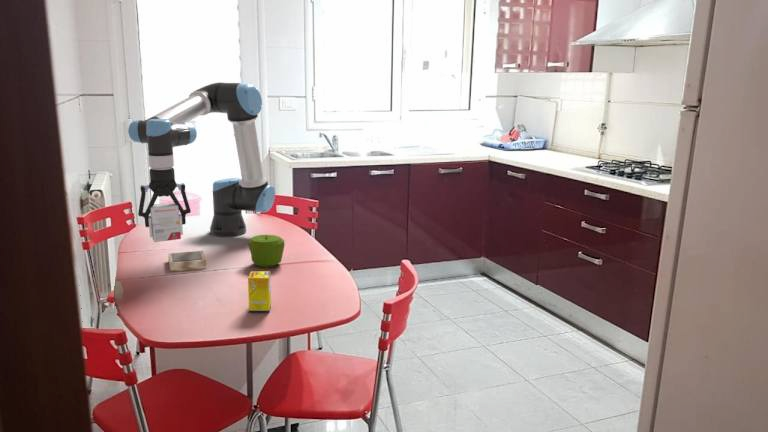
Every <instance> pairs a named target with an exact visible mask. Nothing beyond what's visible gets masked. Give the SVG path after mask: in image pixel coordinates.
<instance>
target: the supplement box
mask: <svg viewBox="0 0 768 432" xmlns="http://www.w3.org/2000/svg"><path fill="white" fill-rule="evenodd" d="M271 277H272V275H271V271H267V270H266V271H259V270H258V271H257V270H255V271H253V270H252V271H250V272H249V275H248V277H247V279H248V280H247V284H248V285H247V286H248V287H247V289H248V313H249V314H269V313H270V311H271V308H272V291H271V290H272V289H271V288H272V284H271V282H272V281H271V279H272V278H271Z"/></svg>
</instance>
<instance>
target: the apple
mask: <svg viewBox="0 0 768 432" xmlns="http://www.w3.org/2000/svg"><path fill="white" fill-rule="evenodd" d="M247 243H248V244H247V245H248V249H249V251H250V255H251V261H252V263H253V264H254V265H256V266H258V267H260V268H273V267H275V266H277V265H278V264H280V263H281V262H282V258H283V254H284V249H285V246H286V245H285V240H284V238H282V237H281V236H278V235H276V234H275V235H273V234H258V235H255V236H252V237H251V238H250V239H249V240H248V242H247Z"/></svg>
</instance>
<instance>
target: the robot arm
mask: <svg viewBox="0 0 768 432" xmlns="http://www.w3.org/2000/svg"><path fill="white" fill-rule="evenodd" d="M262 106H263V99H262V95H261V93H260V91H259V89H258V87H256V86H255V85H253V84H252V83H251V84H250V83H244V82H214V83H210V84H208V85H205V86H202V87H200V88H198V89H196V90H194V91H193V92H192V91H191V93H190V94H189V95H188V97H187V98H185V99H183V100H181V101H180V102H177V103H175V104H174V105H172V106H169V107H168V108H166V109H165V110H163V111H161V112H159V113H156V114H155V115H152V116H151V117H149V118H147V119H145V120H142V119H138V120H133V121H131V122H130V123H129V125H128V128H127V129H128V130H127V131H128V133H127V134H128V136H129V139H130V140H131V141H133V142H134V143H139V144H140V143H141V144H147V151H148V152H147V156H148V157H147V158H148V166H149V168H150V169H149V183H148V184H147V185H144V184H143V185H140V186H139V187H140V192H141V193H140V194H141V195H140V201H139V206H138V212H137V213H138V214H137V215H138V216H139V217H142V218H144V224H145V228H149V231H148V232H149V238H153V237H152V225H151V213H150V212H151V209H150V207H153V205H154V204H156V201H157V199H158V197H159V198H162V197H170V198H171V200H172V202H173V203H175V205H177V206H178V209H179V221H180V233H181V236H183V235H184V231H183V230H184V229H183V225H186V223H187V222H186V220H187V219H186V215H187V214H191V210H192V209H191V208H190V204H189V201H188V196H187V194H186V185H185V183H184V182H183V183H177V182H176V176H175V168H174V166H175V163H174V148H175V147H176V148H177V147H180V146H181V147H182V146H188V145H190V144H192V143H194V142H195V141H196V139H197V134H198V133H197V128H196V127H195V126H194V124H193V123H191V122H190V121H192V120H194V119H195V118H197V117H198V116H206V115H209V114H210V113H211V114H212V113H217V114H218V113H220V114H221V113H222V114H226V116H227V120H228V121H229V122H230V123H231V124H232V128H233V132H234V133H233V134H234V139H235V144H236V151H237V157H238V162H239V164H238V165H239V169H240V174H241V177H240V178H239V177H233V178H229V177H228V178H223V179H218V180H215V181H214V182H213V183H212V191H211V192H212V204H213V207H212V208H213V217H212V220H211V223H210V227H209V230H210V232H209V233H210V234H211V235H213V236H217V237H234V236H240V235H244V234H246V232H247V224H246V222H245V219H244V216H243V213H242V212H243V211H244V212H245V211H246V212H255V213H267V212H269V211H270V210H271V208H272V207H273V205H274V203H275V197H276V191H275V190H276V189H275V187H274V186H273V185H272V184H269V183H268V182H269V181H268V178H267V177H266V176H264V173H263V166H262V160H261V155H260V154H261V153H260V147H259V141H258V133H257V127H256V120H257V118H258V117H259V114H260V112H261V110H262V108H263V107H262ZM177 188H178V190H179V191H180V193H181V195H182V200H183V203H184V206H185V209H184V208H183V206H182V205H181V203H180V201H179V200H178V198H177V196H176V195H175V193H174V191H175V190H176V189H177ZM149 189H150V190H151V192H152V193H153V194H152V196H151V198H150V201H149V202H148V205H147V207H146V209H145V212H144V206H145V201H146V193H147V192H148V191H149Z"/></svg>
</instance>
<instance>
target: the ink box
mask: <svg viewBox="0 0 768 432" xmlns="http://www.w3.org/2000/svg"><path fill="white" fill-rule="evenodd" d="M150 209H151V212H150V216H151V225H152V237H151V238H152V240H153V242H154V243H159V242H167V241H168V242H169V241H176V240H181V239H182V235H181V233H180V221H179V214H180V211H179V209H178V206H177V205H175V203H174V202H166V203H154V205H153V207H150Z"/></svg>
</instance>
